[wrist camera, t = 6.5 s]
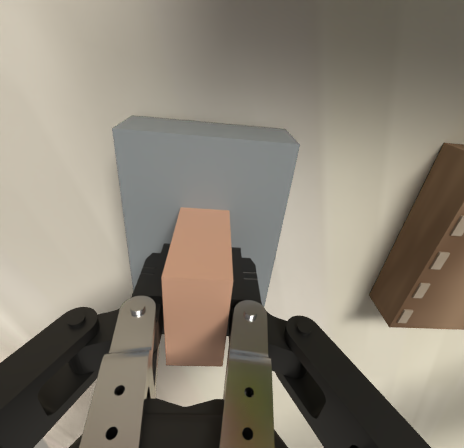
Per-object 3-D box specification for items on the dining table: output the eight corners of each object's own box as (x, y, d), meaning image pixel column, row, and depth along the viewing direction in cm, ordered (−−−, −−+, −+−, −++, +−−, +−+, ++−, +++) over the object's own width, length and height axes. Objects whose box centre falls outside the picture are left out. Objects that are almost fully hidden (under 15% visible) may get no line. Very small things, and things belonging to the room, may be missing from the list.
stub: (286, 129, 14) (344, 191, 8) (255, 292, 21) (272, 407, 14) (132, 115, 14) (45, 170, 7) (148, 287, 20) (110, 406, 13)
